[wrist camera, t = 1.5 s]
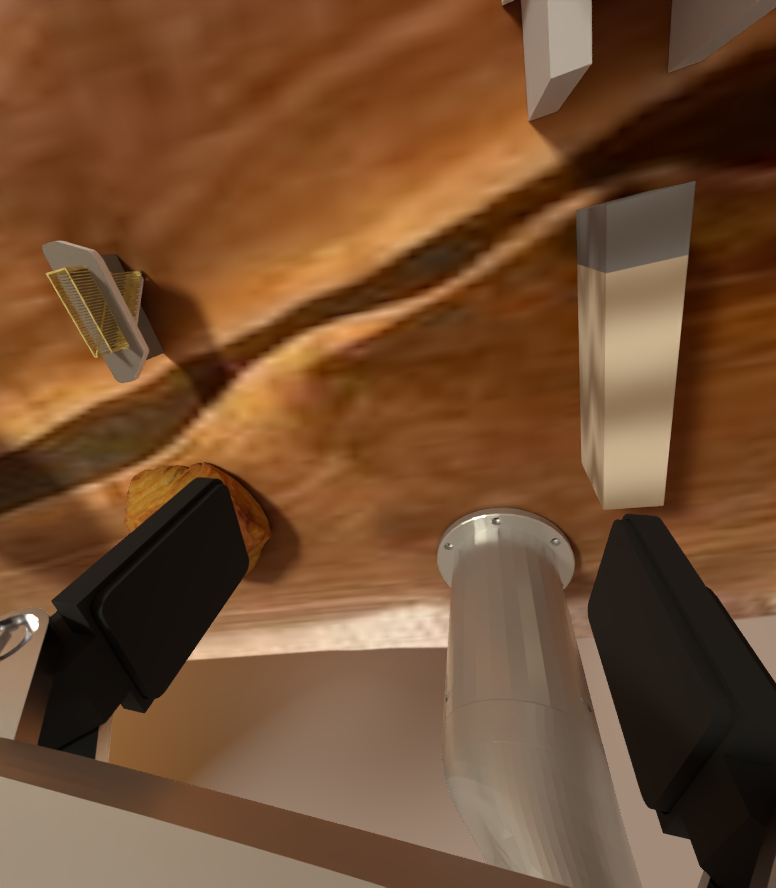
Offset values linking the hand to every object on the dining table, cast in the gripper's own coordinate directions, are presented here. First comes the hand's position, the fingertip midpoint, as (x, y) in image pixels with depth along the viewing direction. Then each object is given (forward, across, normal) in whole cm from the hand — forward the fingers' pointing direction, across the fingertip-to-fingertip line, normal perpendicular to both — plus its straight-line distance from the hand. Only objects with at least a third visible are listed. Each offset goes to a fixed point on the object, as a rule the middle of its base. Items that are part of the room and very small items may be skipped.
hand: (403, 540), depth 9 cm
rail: (+22, -11, +1) cm, 24 cm away
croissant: (+22, +25, +19) cm, 39 cm away
